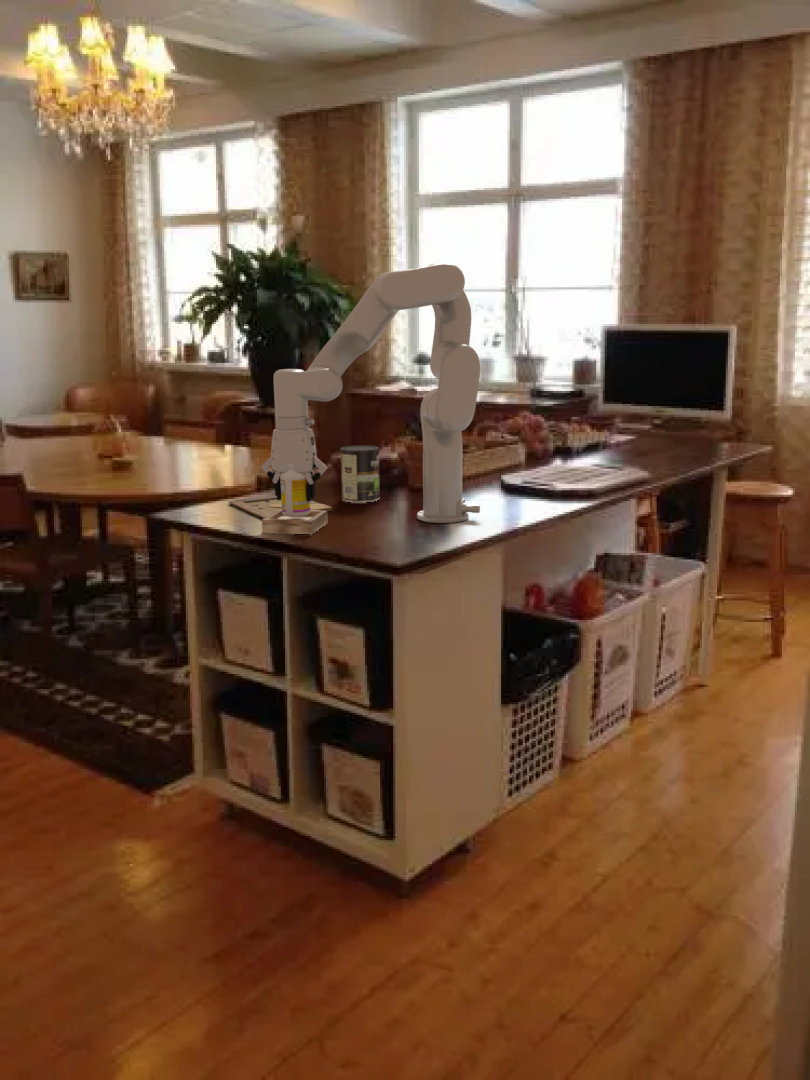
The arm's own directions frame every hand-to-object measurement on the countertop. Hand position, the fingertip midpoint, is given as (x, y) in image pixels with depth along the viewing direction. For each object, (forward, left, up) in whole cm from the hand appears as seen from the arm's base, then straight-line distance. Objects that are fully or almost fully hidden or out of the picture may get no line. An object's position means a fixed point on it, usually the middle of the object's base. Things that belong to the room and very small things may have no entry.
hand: (295, 499), depth 228 cm
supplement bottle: (0, 0, -4) cm, 4 cm away
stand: (0, 0, -7) cm, 7 cm away
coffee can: (-6, -35, -7) cm, 36 cm away
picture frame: (+12, -21, -8) cm, 26 cm away
